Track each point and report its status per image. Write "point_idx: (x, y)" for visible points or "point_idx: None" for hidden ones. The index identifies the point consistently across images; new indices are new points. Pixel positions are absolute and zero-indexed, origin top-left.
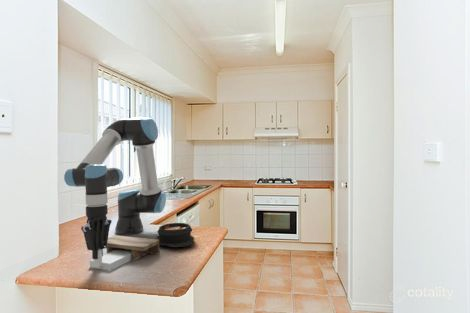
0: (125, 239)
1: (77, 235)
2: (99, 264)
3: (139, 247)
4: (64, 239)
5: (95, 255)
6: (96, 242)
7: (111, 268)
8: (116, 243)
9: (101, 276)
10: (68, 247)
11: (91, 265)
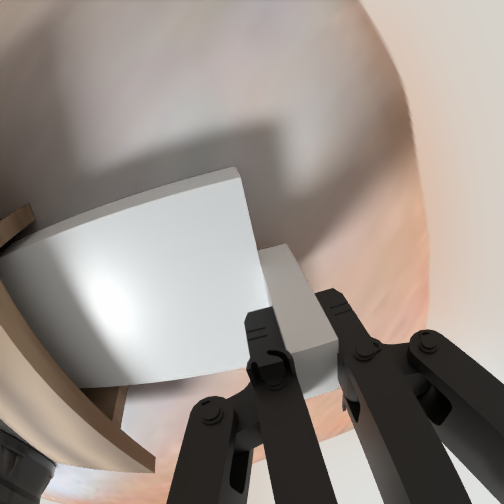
0: (9, 407)
1: (144, 498)
2: (288, 254)
3: None
4: None
5: (347, 312)
6: (418, 421)
7: (219, 172)
8: (61, 409)
9: (337, 126)
10: None
11: None
